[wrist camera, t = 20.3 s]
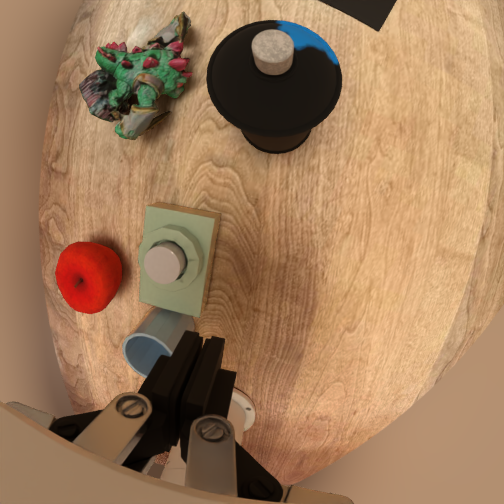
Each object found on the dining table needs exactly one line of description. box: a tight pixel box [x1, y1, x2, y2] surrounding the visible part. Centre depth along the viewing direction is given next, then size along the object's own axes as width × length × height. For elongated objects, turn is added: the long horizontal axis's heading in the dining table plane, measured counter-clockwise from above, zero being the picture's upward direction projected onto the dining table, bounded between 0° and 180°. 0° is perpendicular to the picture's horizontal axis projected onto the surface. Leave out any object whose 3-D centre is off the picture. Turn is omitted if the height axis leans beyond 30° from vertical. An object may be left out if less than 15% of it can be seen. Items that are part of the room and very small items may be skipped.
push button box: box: [138, 202, 221, 318], centre depth 32 cm, size 12×8×6 cm, turn 169°
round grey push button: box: [144, 242, 186, 284], centre depth 29 cm, size 4×4×2 cm
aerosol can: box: [206, 20, 342, 154], centre depth 20 cm, size 8×8×20 cm
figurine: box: [79, 12, 192, 140], centre depth 25 cm, size 12×13×15 cm
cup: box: [122, 306, 195, 378], centre depth 34 cm, size 7×7×8 cm
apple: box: [55, 242, 122, 314], centre depth 33 cm, size 9×9×8 cm
